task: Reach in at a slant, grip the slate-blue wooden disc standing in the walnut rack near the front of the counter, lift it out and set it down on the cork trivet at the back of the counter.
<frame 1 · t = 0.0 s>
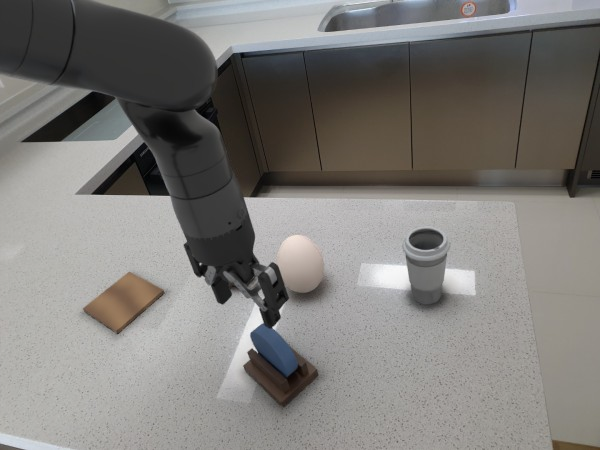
hand: (248, 311, 61), 14 cm above the table, tool pointing down, fingers open, 8 cm apart
cup: (426, 294, 76), on the table
disc: (273, 350, 65), point 5 cm above the table, touching rack
egg: (306, 287, 82), on the table
rack: (281, 373, 68), on the table
vase: (238, 278, 86), on the table
trivet: (124, 301, 87), on the table
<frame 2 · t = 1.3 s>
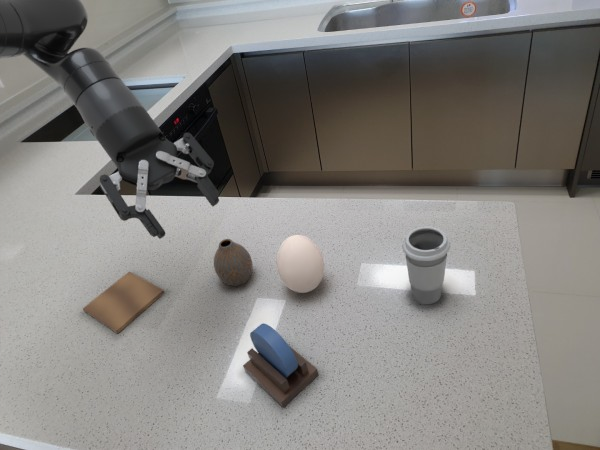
hand: (190, 219, 61), 24 cm above the table, tool tilted 45°, fingers open, 8 cm apart
nothing on the table moved.
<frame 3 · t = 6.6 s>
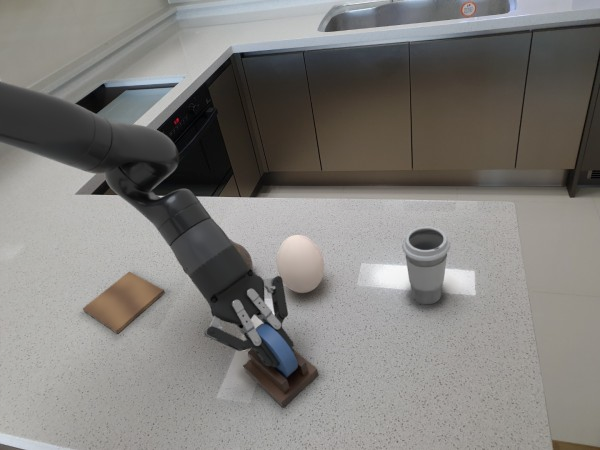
hand: (283, 358, 64), 5 cm above the table, tool tilted 45°, fingers closed on disc, 2 cm apart
disc: (273, 350, 65), point 6 cm above the table, touching gripper, rack
everything else where it was.
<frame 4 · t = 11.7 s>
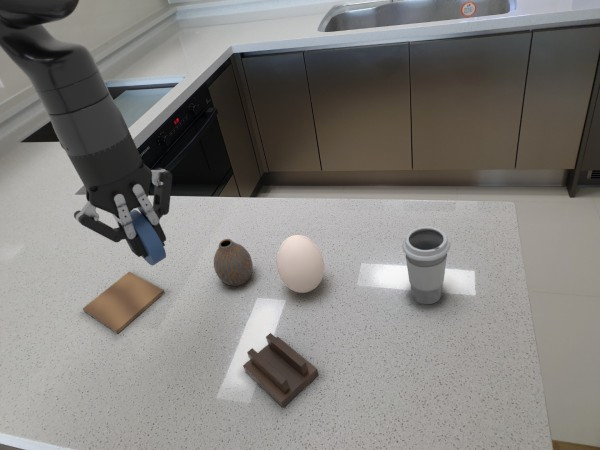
hand: (152, 249, 64), 20 cm above the table, tool pointing down, fingers closed on disc
disc: (143, 237, 65), point 21 cm above the table, tilted 42°, touching gripper
everything else where it was.
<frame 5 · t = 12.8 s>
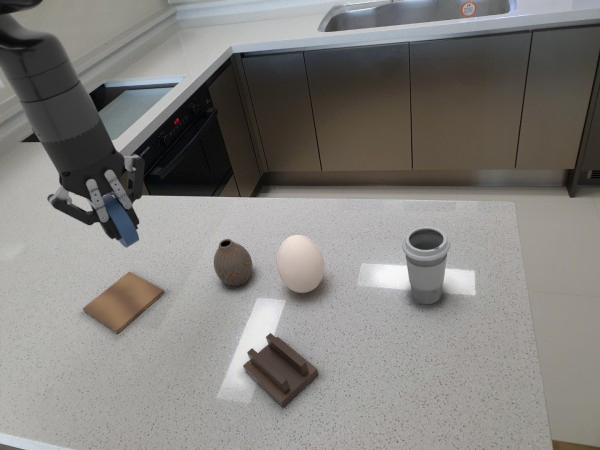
hand: (125, 232, 67), 21 cm above the table, tool pointing down, fingers closed on disc
disc: (117, 220, 67), point 23 cm above the table, tilted 45°, touching gripper
everything else where it was.
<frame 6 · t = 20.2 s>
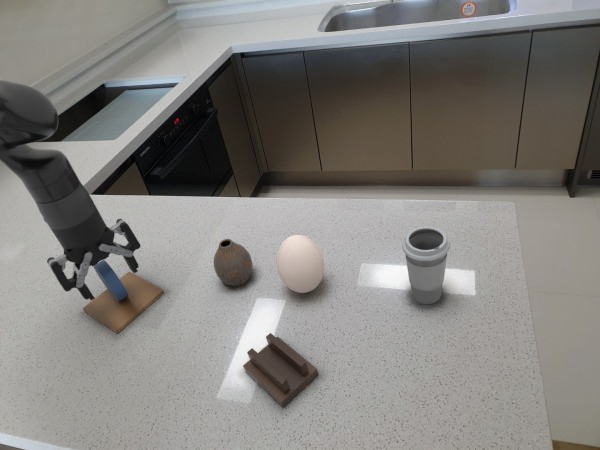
hand: (113, 283, 84), 5 cm above the table, tool pointing down, fingers open, 8 cm apart
disc: (110, 280, 85), point 5 cm above the table, tilted 45°, touching trivet
everything else where it was.
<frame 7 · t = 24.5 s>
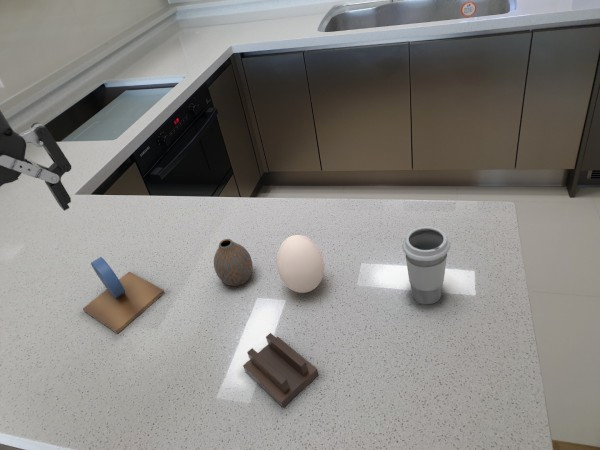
hand: (31, 224, 55), 30 cm above the table, tool pointing down, fingers open, 8 cm apart
disc: (108, 277, 85), point 5 cm above the table, tilted 26°, touching trivet
everything else where it was.
at the end: disc inside the target area on the trivet (2.7 cm from its centre), point 4.8 cm above the trivet's base; disc touching trivet; the gripper is holding nothing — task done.
